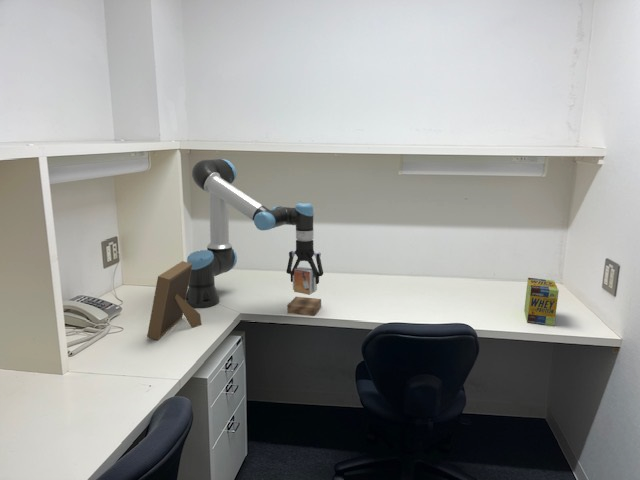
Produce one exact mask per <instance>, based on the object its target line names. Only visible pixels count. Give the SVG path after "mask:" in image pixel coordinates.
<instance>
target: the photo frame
mask: <svg viewBox="0 0 640 480" xmlns="http://www.w3.org/2000/svg"><path fill="white" fill-rule="evenodd" d="M192 265H193V264H191V263H188V262H187V261H183V260H182V261H180V262H179V263H177V264H175V265H174V266H172V267H170V268H169V269H167V270H166V271H164V272H163V273H161V274H159V275H157V279H156V280H157V281H156V284H155V285H156V286H155V290H154V296H153V301H152V308H151V313H150V317H149V318H150V319H149V325H148V328H147V333H146V334H147V335H146V338H148V339H151V340H155V341H159V340H160V339H162V337H164V336H165V335H166V334H167V333H166V332H169V331H170V330H171V329H172V328H173V327H174V326H175V325H176V324H178V323H179V322H180V321H181V320H182V319H183V315H184V316H185V319H186V320H187V322H188V324H189V325H190V327H191V328H196V327H198V326H202V318H201V313H199V312H198V311H197V310H196V308H193V307H191V306H190V305H189V304H188V303H187V302H186V301H185V300H186V295H187V291H188V285H189V280H190V275H191V270H192Z"/></svg>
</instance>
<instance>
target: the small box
mask: <svg viewBox="0 0 640 480" xmlns="http://www.w3.org/2000/svg"><path fill="white" fill-rule="evenodd" d="M314 276H315V274H314V272H313V270H312V268H311V267H304V266H298V267H297V268H296V269H294V290H293V292H294V293H299V294H304V295H308V296H309V295H312V294H313V293H315V292H314Z"/></svg>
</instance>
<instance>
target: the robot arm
mask: <svg viewBox="0 0 640 480" xmlns="http://www.w3.org/2000/svg"><path fill="white" fill-rule="evenodd" d="M191 177H192V180H193V182H194V183H195V184H196V186H197V187H199V188H200V189H201V190H203V191H204V192H205V193H208V194H209V195H208V196H209V232H210V233H209V237H210V239H209V240H210V241H209V243H208V244H207V246H206V248H207V249H203V250H202V249H201V250H197V251H194V252H191V253H190V254H188V255H187V258H186V260H187V261H186V262H188V263H191V264H193V265H192V270H191V275H190V280H189V285H188V290H187V295H186V300H185V301H186V302H187V303H188V304H189V305H190V306H191V307H192V308H194V309H202V308H203V309H204V308H205V309H206V308H209V307H214V306H215V305H218V304H219V303H220V295H219V293H218V290H217V288H216V286H215V285H216V284H215V283H216V282H215V277H216V276H220V275H222V274H224V273H227V272H229V271H231V270H233V269H234V268H235V266H236V264H237V262H238V256H237V252H235V249H234V248H233V245H232V244H231V243H230V240H229V238H230V236H229V234H230V233H229V232H230V231H229V226H230V225H229V206H231V207H232V208H234V209H236V210H237V211H238V212H240V213H241V214H243V215H244V216H246V217H247V218H249V219H250V220H252V221H253V223H254V226H255V227H256V229H258V230H259V231H269V230H272V229H275V228H278V227H281V226H284V225H289V226H290V225H291V226H295V239H296V240H295V251H293V250H291V251H289V252H288V257H289V258H288V262H287V267H286V274H287V275H288V274H289V275H290V282H291V283H292V290H293V291H294V269H296V268H298V267H299V265H300V263H301V262H308V264H309V266H310V268H312V270H313V272H314V274H315V276H314V292H313V293H316V292H317V290H318V284H319V283H320V277H322V276H323V275H324V269H323V266H322V265H323V264H322V260H321V254H322V253H321V252H315V250H314V240H313V239H314V215H315V213H314V206H313V204H311V203H308V202H305V203H304V202H300V203H296V204H295V207H289V206H283V205H282V206H281V205H279V206H273V207H272V208H271V209H270V208H267V207H266V206H265V205H263V204H261V203H260V202H259V201H257V200H255V199H254V198H252V197H251V196H249V194H246V193H245V192H243V191H242V190H240V189H239V188H237V187H235V186H234V185H233V184H232V183H234V182H235V180H236V178H237V170H236V167H235V166H234V164H233V163H232V162H231V161H229V160H228V159H222V158H217V159H216V158H214V159H201V160H199V161H197V162H196V163H195V164H194V166H193V167H192V170H191ZM295 256H296V257H297V258H296V261H295V263H294V265H293V261H294V259H295V258H294V257H295ZM313 257H315V261H316V264H315V262H314V259H313Z"/></svg>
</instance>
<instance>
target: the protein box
mask: <svg viewBox="0 0 640 480" xmlns="http://www.w3.org/2000/svg"><path fill="white" fill-rule="evenodd" d="M558 299H559V289H558V286H557V284H556V283H555V280H552V279H551V280H550V279H544V278H535V277H527V283H526V292H525V301H524V310H523V311H524V315H525V319H526V320H525V321H526V323H527V324H535V325H543V326H549V327H555V321H556V317H557V316H556V314H557V306H558Z"/></svg>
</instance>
